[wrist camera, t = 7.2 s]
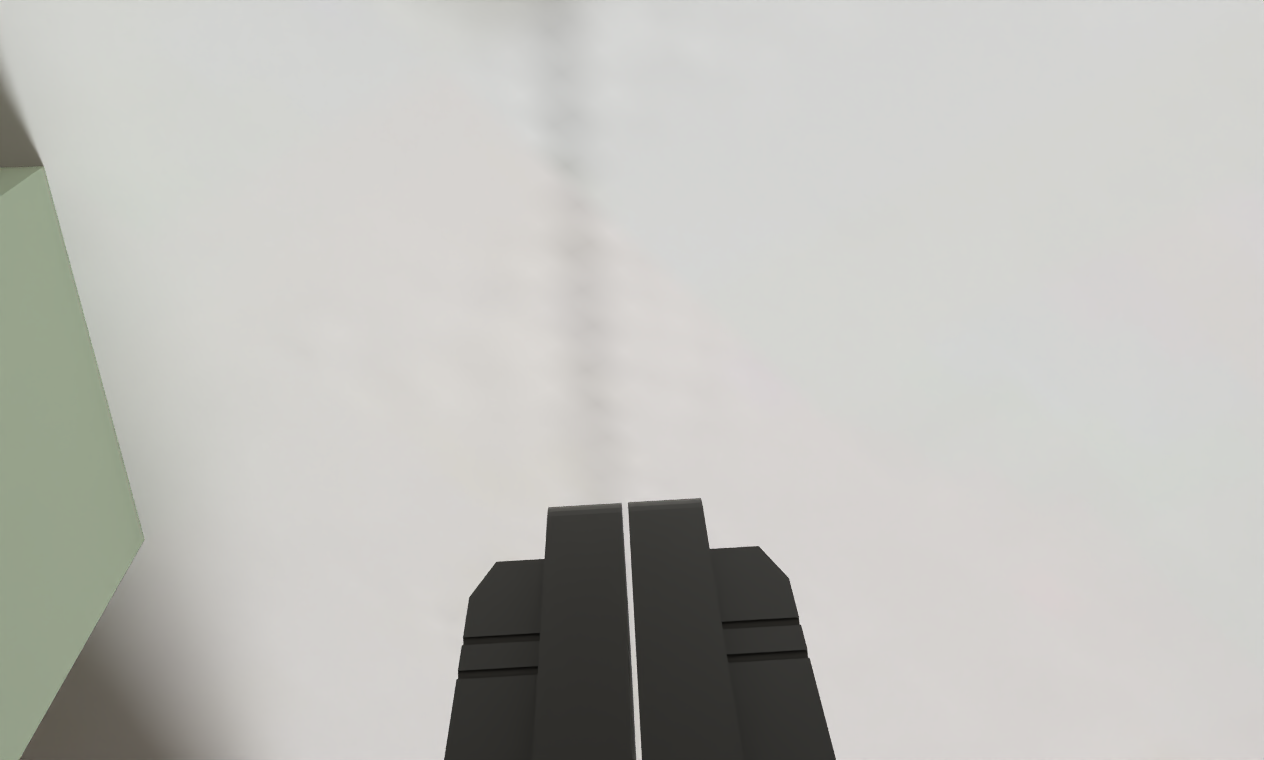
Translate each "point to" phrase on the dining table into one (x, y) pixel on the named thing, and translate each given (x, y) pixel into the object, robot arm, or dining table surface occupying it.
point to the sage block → (50, 466)
